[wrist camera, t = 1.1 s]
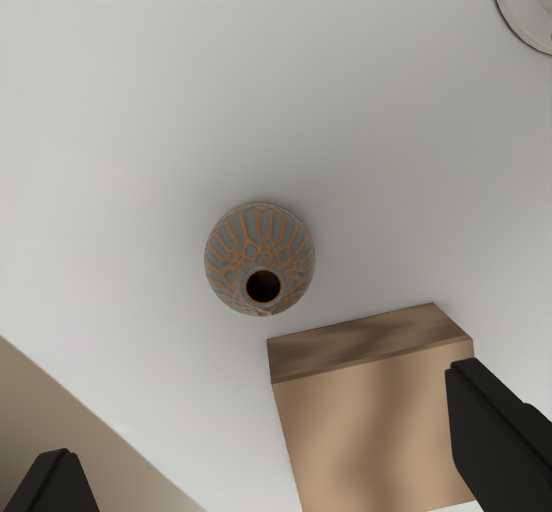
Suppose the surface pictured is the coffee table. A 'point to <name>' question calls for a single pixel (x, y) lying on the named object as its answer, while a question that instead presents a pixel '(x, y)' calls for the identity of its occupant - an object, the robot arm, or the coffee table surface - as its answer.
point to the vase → (259, 259)
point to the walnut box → (371, 411)
